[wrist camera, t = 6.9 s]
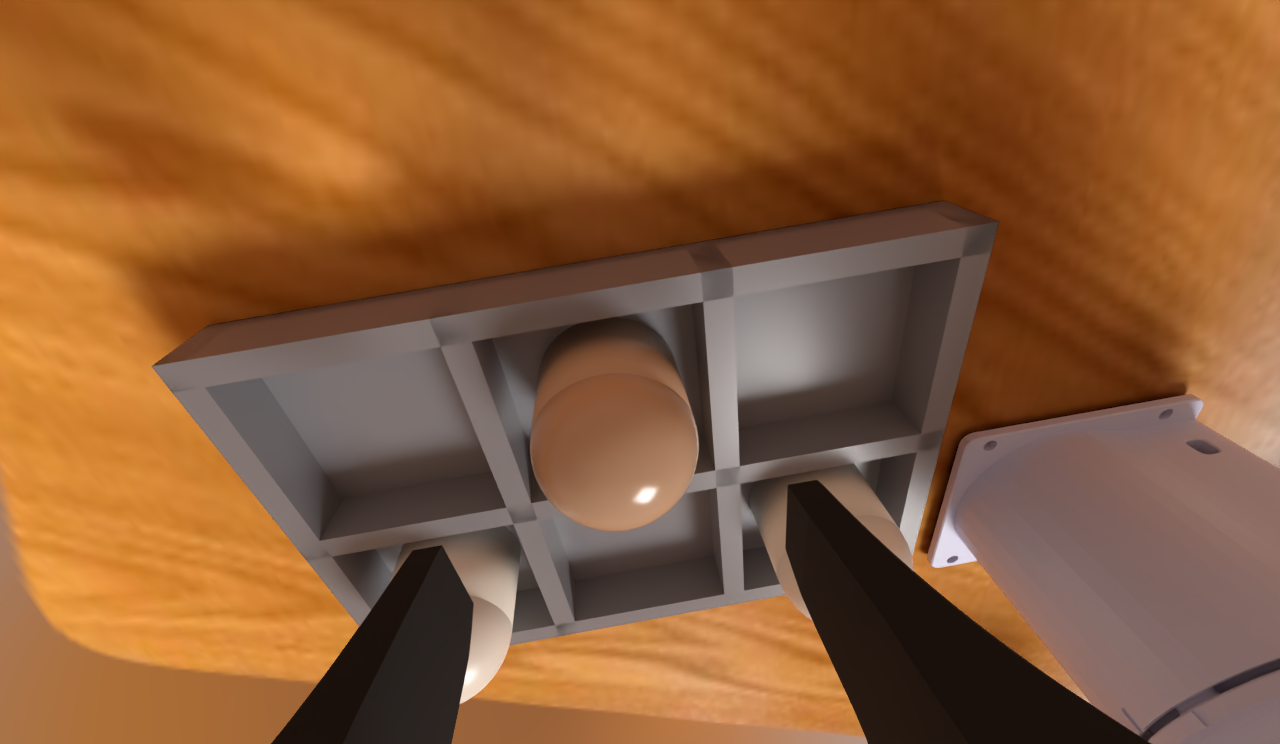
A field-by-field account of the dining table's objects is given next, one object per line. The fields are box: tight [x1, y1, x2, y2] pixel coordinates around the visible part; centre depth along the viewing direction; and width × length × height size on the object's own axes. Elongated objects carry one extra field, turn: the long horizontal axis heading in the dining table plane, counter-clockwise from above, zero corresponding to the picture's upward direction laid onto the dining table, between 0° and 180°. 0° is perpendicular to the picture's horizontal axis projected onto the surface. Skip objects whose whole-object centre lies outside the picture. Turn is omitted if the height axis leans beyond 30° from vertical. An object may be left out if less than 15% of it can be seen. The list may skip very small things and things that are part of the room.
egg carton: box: [152, 201, 999, 704], centre depth 16 cm, size 21×14×6 cm
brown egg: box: [530, 317, 699, 532], centre depth 14 cm, size 4×4×5 cm
